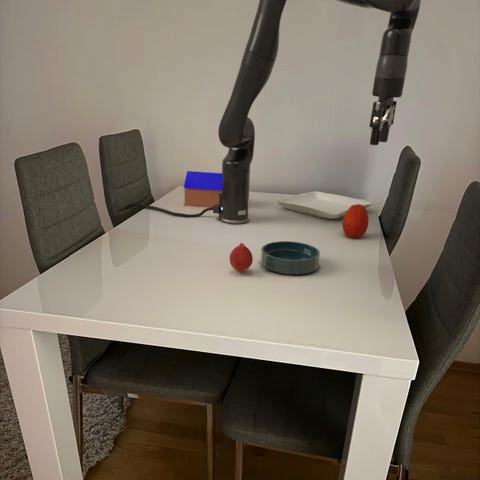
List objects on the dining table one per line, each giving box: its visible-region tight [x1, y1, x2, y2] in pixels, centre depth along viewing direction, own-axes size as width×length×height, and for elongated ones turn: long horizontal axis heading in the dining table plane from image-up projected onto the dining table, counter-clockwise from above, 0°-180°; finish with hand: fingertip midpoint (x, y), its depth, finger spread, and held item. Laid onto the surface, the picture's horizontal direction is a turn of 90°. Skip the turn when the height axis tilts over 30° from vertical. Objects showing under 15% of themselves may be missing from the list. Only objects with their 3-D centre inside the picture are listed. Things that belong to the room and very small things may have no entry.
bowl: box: [260, 240, 321, 275], centre depth 120 cm, size 15×15×4 cm
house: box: [183, 170, 222, 208], centre depth 174 cm, size 12×20×12 cm, turn 81°
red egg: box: [341, 204, 370, 239], centre depth 144 cm, size 8×8×11 cm
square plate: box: [275, 190, 374, 220], centre depth 173 cm, size 27×27×4 cm
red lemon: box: [229, 242, 254, 274], centre depth 113 cm, size 6×6×8 cm
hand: (378, 143), depth 124 cm, fingers open, 8 cm apart
